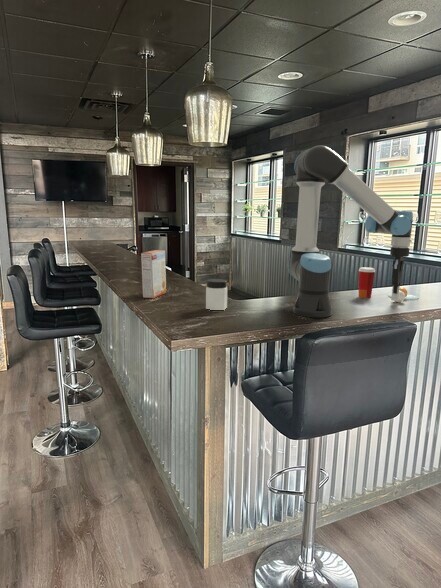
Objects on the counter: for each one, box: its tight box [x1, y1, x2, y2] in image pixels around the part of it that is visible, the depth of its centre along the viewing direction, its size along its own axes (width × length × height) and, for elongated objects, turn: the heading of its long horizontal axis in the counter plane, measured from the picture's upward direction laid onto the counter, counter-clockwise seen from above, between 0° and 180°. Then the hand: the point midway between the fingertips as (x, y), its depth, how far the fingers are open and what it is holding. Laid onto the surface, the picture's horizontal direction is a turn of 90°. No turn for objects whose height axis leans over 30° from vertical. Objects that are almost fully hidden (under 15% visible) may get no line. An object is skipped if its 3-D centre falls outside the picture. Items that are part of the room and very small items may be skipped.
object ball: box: [399, 286, 409, 297], centre depth 195 cm, size 6×6×6 cm
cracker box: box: [140, 249, 167, 299], centre depth 193 cm, size 14×6×21 cm, turn 162°
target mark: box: [386, 293, 420, 301], centre depth 200 cm, size 14×14×1 cm
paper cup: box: [357, 266, 376, 299], centre depth 197 cm, size 8×8×14 cm
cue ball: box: [394, 290, 405, 303], centre depth 187 cm, size 6×6×6 cm
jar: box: [205, 278, 228, 311], centre depth 169 cm, size 9×8×12 cm
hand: (394, 300), depth 183 cm, fingers closed
